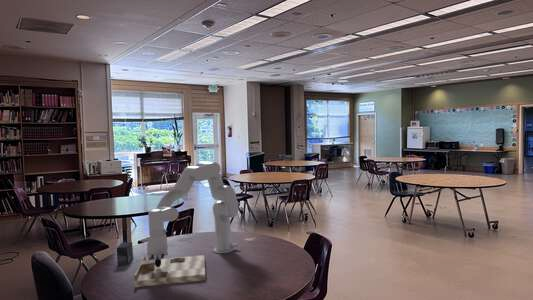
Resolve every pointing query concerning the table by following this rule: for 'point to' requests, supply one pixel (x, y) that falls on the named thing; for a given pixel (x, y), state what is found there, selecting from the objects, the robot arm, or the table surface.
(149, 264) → the walnut block
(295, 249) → the table surface
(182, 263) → the box
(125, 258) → the small box
